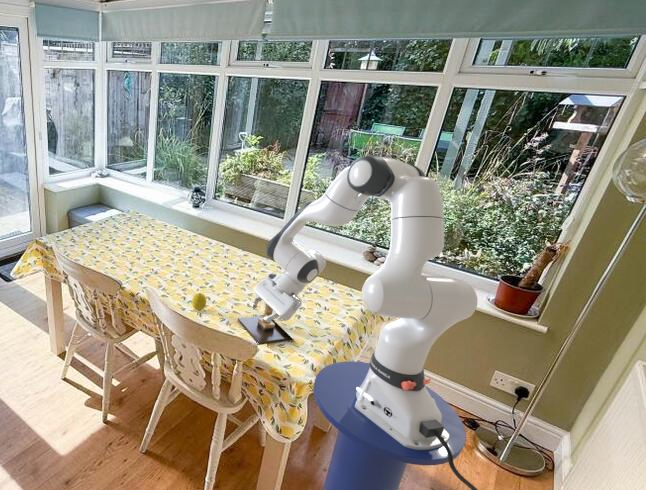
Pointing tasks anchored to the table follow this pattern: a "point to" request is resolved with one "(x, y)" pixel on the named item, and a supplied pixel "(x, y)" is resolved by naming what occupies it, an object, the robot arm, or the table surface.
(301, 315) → the table surface
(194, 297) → the lemon
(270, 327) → the brush
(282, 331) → the tablet
